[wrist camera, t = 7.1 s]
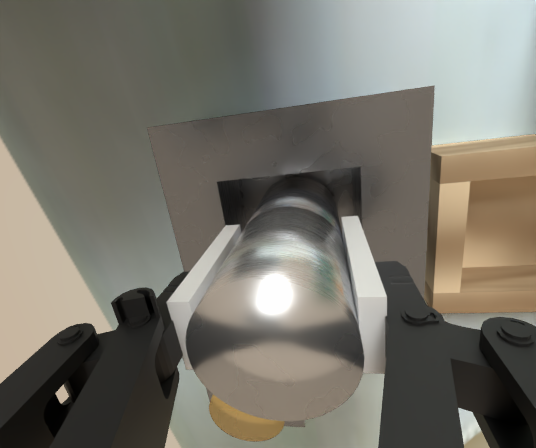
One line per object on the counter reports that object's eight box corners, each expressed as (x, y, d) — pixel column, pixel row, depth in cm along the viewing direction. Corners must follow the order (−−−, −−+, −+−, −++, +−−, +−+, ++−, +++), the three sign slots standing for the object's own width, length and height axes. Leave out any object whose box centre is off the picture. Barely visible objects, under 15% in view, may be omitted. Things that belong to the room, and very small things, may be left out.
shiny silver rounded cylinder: (254, 180, 19) (166, 282, 8) (335, 172, 18) (361, 275, 7) (265, 252, 21) (205, 417, 10) (339, 247, 20) (366, 425, 9)
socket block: (198, 121, 21) (135, 129, 14) (394, 92, 19) (443, 83, 11) (242, 338, 28) (215, 422, 20) (392, 338, 25) (423, 433, 18)
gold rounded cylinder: (233, 309, 23) (202, 384, 17) (290, 308, 22) (279, 387, 16) (242, 354, 25) (217, 438, 18) (296, 355, 24) (288, 443, 18)
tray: (418, 147, 20) (441, 156, 16) (601, 126, 18) (674, 132, 14) (414, 280, 23) (432, 313, 19) (567, 275, 21) (618, 310, 18)
